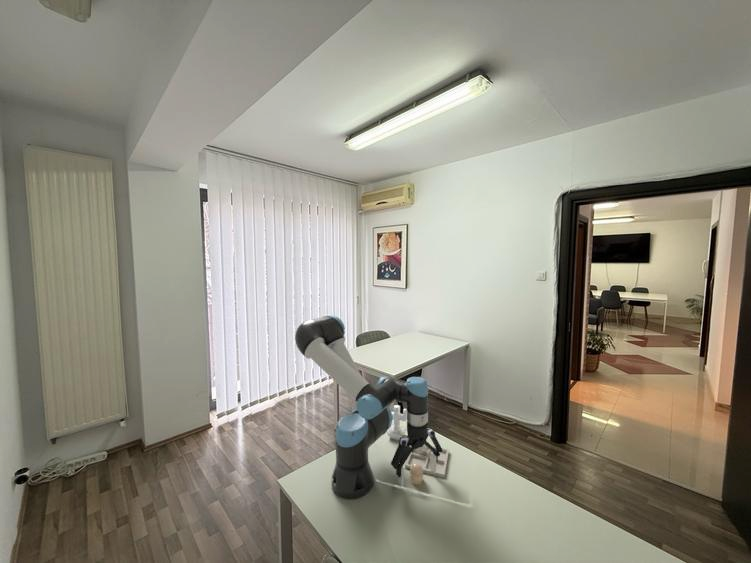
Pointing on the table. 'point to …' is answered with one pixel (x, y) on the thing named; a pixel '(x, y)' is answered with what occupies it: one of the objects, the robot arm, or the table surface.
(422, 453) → the resting egg
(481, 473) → the table surface
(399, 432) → the figurine
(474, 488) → the table surface
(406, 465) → the divided tray
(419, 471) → the egg
